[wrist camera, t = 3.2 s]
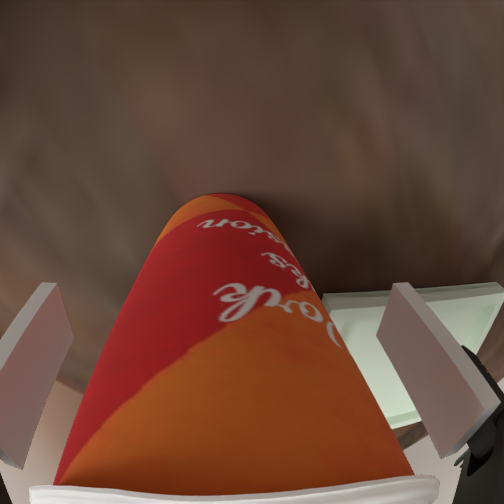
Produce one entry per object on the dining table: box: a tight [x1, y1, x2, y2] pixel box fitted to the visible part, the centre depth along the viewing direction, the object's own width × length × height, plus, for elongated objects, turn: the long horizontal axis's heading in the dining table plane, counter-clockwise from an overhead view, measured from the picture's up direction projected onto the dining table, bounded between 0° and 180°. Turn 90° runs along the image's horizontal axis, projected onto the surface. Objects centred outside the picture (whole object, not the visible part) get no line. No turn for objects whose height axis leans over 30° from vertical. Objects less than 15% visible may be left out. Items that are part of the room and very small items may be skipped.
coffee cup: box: [29, 193, 440, 504], centre depth 10 cm, size 8×8×15 cm
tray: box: [321, 282, 504, 429], centre depth 22 cm, size 16×16×2 cm
